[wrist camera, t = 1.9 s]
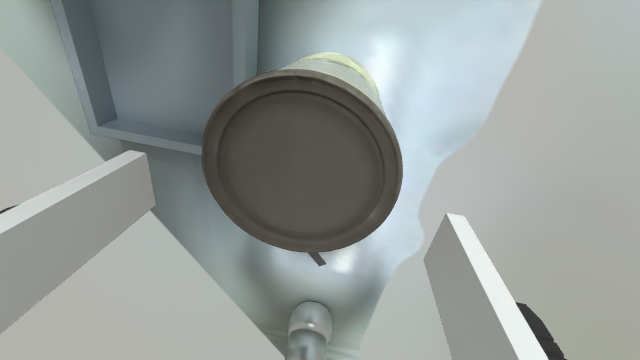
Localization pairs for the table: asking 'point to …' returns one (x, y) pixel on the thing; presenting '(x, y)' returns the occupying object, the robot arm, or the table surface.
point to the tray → (157, 64)
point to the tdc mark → (317, 259)
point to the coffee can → (304, 155)
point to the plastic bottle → (309, 332)
